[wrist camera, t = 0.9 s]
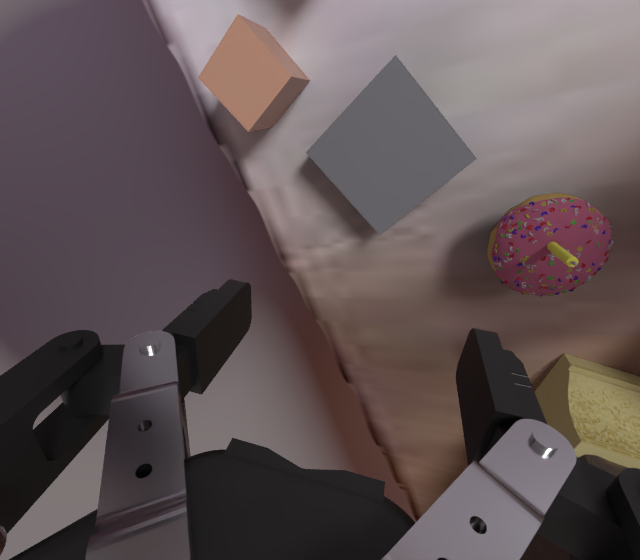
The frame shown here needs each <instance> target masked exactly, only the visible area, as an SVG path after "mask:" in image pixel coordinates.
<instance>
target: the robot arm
mask: <svg viewBox="0 0 640 560" xmlns="http://www.w3.org/2000/svg"><path fill="white" fill-rule="evenodd" d="M251 318H252V314H251V286H250V284H249V283H247V282H242V281H237V280H232V279H230V280H228V281H227V282H225V284H223V285H222V286H221V287H220V288H219V289H218V290H217V289H213V290H211V291H208V292H206V293H204V294H202V295H201V296H200V297H198V298H197V299H196V300H195V301H194V302H193V304H191V305H190V306H189V307H187V309H186V310H184V311H183V312H182V313H181V314H180V315H179V316H178V317H176V318H175V319H174V320H173V321H172V322H171V323H170V324H169V325H168V326H166V327H165V328H164V329H163V330H162V331H149V332H145V333H142V334H139V335H137V336H135V337H133V338H132V339H130V340H129V341H128V342H127V343H126V345H101V343H100V339H99V336H98V335H97V334H96V333H95V332H93V331H89V330H77V331H72V332H67V333H64V334H62V335H59V336H57V337H55V338H54V339H52V340H50V341H49V342H48V343H46V344H45V345H43V346H42V347H41V348H39V349H38V350H36V351H35V352H33V353H32V354H31V355H29V356H28V357H26V358H25V359H23V360H22V361H21V362H19V363H18V364H17V365H15V366H14V367H12V368H11V369H9V370H8V371H7V372H5V373H4V374H2V375H1V376H0V555H1V553H2V552H3V549H4V547H5V543H6V537H7V533H8V532H9V531H10V530H11V529H12V528H13V527H14V525H15V524H16V523H17V522H18V521H19V520H20V519H21V518H22V516H23V515H24V514H25V513H26V512H27V511H28V510H29V508H30V507H31V506H32V505H33V504H34V503H35V502H36V500H37V499H38V498H39V497H40V496H41V495H42V494H43V493H44V492H45V490H46V489H47V488H48V487H49V486H50V485H51V483H52V482H53V481H54V480H55V479H56V478H57V477H58V476H59V474H60V473H61V472H62V471H63V470H64V469H65V468H66V466H68V464H69V463H70V462H71V461H72V460H73V459H74V458H75V456H76V455H77V454H78V453H79V452H80V451H81V450H82V448H83V447H84V446H85V445H86V444H87V443H88V442H89V441H90V439H91V438H92V437H93V436H94V435H95V434H96V433H97V432H98V430H99V429H100V428H101V427H102V426H103V425H104V423H105V422H106V421H107V420H108V419H109V423H108V431H107V439H106V447H105V455H104V463H103V471H102V479H101V487H100V495H99V503H98V509H97V510H95V511H93V512H91V513H90V514H88V515H87V516H85V517H83V518H81V519H79V520H77V521H76V522H74V523H72V524H71V525H69V526H67V527H65V528H64V529H62V530H60V531H58V532H56V533H55V534H53V535H51V536H50V537H48V538H46V539H44V540H42V541H41V542H39V543H37V544H35V545H34V546H32V547H30V548H29V549H27V550H25V551H23V552H21V553H20V554H18V555H16V556H14V557H13V558H11V559H9V560H520V558H521V557H522V555H523V553H524V552H525V550H526V548H527V547H528V545H529V543H530V542H531V540H532V538H533V537H534V535H535V534H536V533H537V534H539V535H540V536H542V537H544V538H545V539H547V540H549V541H550V542H552V543H554V544H555V545H557V546H559V547H560V548H562V549H564V550H565V551H567V552H568V554H569V558H570V560H640V469H638V468H626V469H624V470H622V471H621V472H620V474H619V475H618V476H617V477H616V476H614V475H612V474H610V473H608V472H606V471H604V470H602V469H600V468H597V467H595V466H593V465H591V464H589V463H587V462H585V461H583V460H581V459H580V458H578V457H577V456H576V453H575V451H574V449H573V447H572V445H571V444H570V443H569V441H568V440H567V439H566V438H565V437H564V436H563V435H562V434H561V433H559V432H558V431H557V430H555V429H554V428H552V427H551V426H549V425H548V424H547V422H546V419H545V417H544V414H543V412H542V409H541V407H540V405H539V402H538V400H537V397H536V395H535V392H534V390H533V389H532V385H531V383H530V380H529V378H527V377H528V375H527V373H526V370H525V368H524V365H523V363H522V362H521V361H520V360H519V359H518V358H517V357H516V356H515V355H514V353H513V352H512V351H508V350H503V348H502V345H501V343H500V340H499V337H498V334H497V333H494V332H489V331H484V330H479V329H474V328H472V329H471V330H470V332H469V335H468V337H467V340H466V343H465V346H464V348H463V351H462V354H461V357H460V359H459V362H458V366H457V371H456V384H457V391H458V397H459V404H460V411H461V418H462V425H463V432H464V439H465V446H466V453H467V460H468V467H467V468H466V469H465V470H464V472H463V473H462V474H461V475H460V476H459V477H458V478H457V479H456V480H455V481H454V482H453V483H452V484H451V486H450V487H449V488H448V489H447V490H446V491H445V492H444V493H443V494H442V495H441V496H440V497H439V498H438V499H437V501H436V502H435V503H434V504H433V505H432V506H431V507H430V508H429V509H428V510H427V511H426V512H425V513H424V515H423V516H422V517H421V518H420V519H419V520H418V521H417V522H416V523H415V522H414V521H413V520H412V518H411V517H410V516H409V515H408V514H407V513H406V512H405V511H404V510H403V509H401V508H400V507H399V506H398V505H396V504H395V503H394V502H393V501H391V500H390V499H388V498H386V497H385V496H384V484H385V482H383V481H380V480H376V479H373V478H369V477H366V476H362V475H359V474H356V473H352V472H349V471H344V470H315V469H312V470H311V469H302V468H300V467H298V466H297V465H295V464H293V463H292V462H290V461H288V460H287V459H285V458H283V457H281V456H280V455H278V454H276V453H275V452H273V451H272V450H270V449H268V448H265V447H262V446H258V445H255V444H252V443H248V442H245V441H241V440H238V439H235V438H232V440H231V442H230V444H229V446H228V447H227V449H226V450H214V451H208V452H204V453H200V454H197V455H194V456H190V448H189V438H188V430H187V419H186V409H185V401H184V397H185V396H186V395H187V394H188V392H189V391H191V392H195V393H199V394H202V393H203V392H204V391H205V389H206V388H207V387H208V385H209V384H210V382H211V381H212V380H213V378H214V377H215V376H216V374H217V373H218V372H219V370H220V369H221V367H222V366H223V365H224V363H225V362H226V361H227V359H228V358H229V357H230V355H231V354H232V352H233V351H234V350H235V348H236V347H237V346H238V344H239V343H240V341H241V340H242V339H243V337H244V336H245V334H246V333H247V332H248V330H249V327H250V324H251ZM60 395H61V398H62V400H63V403H62V404H61V405H59V407H57V408H56V409H55V410H54V411H53V412H52V413H51V414H50V415H49V416H48V417H46V418H45V419H44V420H43V421H42V422H41V423H40V424H39V425H38V426H37V427H36V428H35V429H33V424H34V422H35V420H36V418H37V416H38V415H39V414H40V413H41V412H42V411H43V410H44V409H45V408H46V407H47V406H49V405H50V404H51V403H52V402H53V401H54V400H55V399H56V398H57V397H59V396H60Z"/></svg>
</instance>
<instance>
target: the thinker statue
mask: <svg viewBox="0 0 640 560" xmlns="http://www.w3.org/2000/svg"><path fill="white" fill-rule="evenodd" d="M535 395H536V397H537V400H538V402H539V405H540V407H541V409H542V412H543V414H544V417H545V419H546V422H547V424H548V425H549V426H551V427H552V428H554V429H555V430H557V431H558V432H559V433H561V434H562V435H563V436H564V437H565V438H566V439H567V440H568V441H569V443H570V444H571V445H572V447H573V449H574V451H575V453H576V456H577V457H578V458H580V459H581V460H583V461H585V462H587V463H589V464H591V465H593V466H595V467H597V468H600V469H602V470H604V471H606V472H608V473H610V474H612V475H614V476H616V477H617V476H618V475H619V474H620V472H621V471H622V470H624V469H626V468H638V469H640V376H636V375H633V374H630V373H627V372H623V371H620V370H617V369H614V368H610V367H607V366H604V365H601V364H597V363H594V362H591V361H588V360H584V359H581V358H578V357H575V356H571V355H568V354H565V353H564V354H563V355H562V356H561V358H560V359H559V360H558V362H557V363H556V364H555V365H554V367H553V368H552V369H551V371H550V372H549V373H548V375H547V376H546V377H545V379H544V380H543V381H542V383H541V384H540V385H539V386H538V388H537V389H536V390H535ZM520 560H570V558H569V554H568V552H567V551H565V550H564V549H562V548H560V547H559V546H557V545H555V544H554V543H552V542H550V541H549V540H547V539H545V538H544V537H542V536H540V535H539V534H537V533H536V534H535V535H534V537H533V538H532V540H531V542H530V543H529V545H528V547H527V548H526V550H525V552H524V553H523V555H522V557H521V558H520Z"/></svg>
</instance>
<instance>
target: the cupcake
mask: <svg viewBox="0 0 640 560" xmlns="http://www.w3.org/2000/svg"><path fill="white" fill-rule="evenodd" d="M611 228H613V227H612V226H610V223H609V220H608V219H607V218H606V217H605V216H603V215H602V214H601V213H600V212H599V211H598V210H597V209H595V208H594V207H593V206H592V205H590V204H589V202H586V201H584V200H582V199H580V198H577V197H575V196H571V195H567V194H561V193H552V194H545V195H536V196H533V197H530V198H528V199H527V200H525V201H524V202H522V203H521V204H519V205H517V206H515V207H513V208H511V209H510V210H508V211H507V212H506V214H505V215H504V216H503V217H502V219H501V220H500V221H499V222H498V224H497V225H496V226H495V228H494V229H493V230H492V232H491V234H490V237H489V243H488V248H487V257H488V260H489V262H490V264H491V266H492V268H493V270H494V273H495V275H496V276H497V277H498V278H499V280H500V281H501V283H504V284H506V285H507V286H509V287H510V288H512V289H513V290H515V291H517V292H520V293H522V294H531V295H541V296H542V295H548V296H550V295H554V294H559V293H561V292H566V291H568V290H569V291H573V289H575V287H577V286H579V285H581V284H583V283H584V282H587V281H589V280H590V279H591V277H592V276H594V275H595V274H596V273H597V272H598V271H599V270H600V269H601V267H602V266H603V265H604V264H605V263H606V262H607V260H608V257H609V253H610V252H611V251H612V250H611V251H610V247H611V245H612V244H613V241H611ZM611 242H612V244H611Z"/></svg>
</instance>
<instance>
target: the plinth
mask: <svg viewBox="0 0 640 560" xmlns="http://www.w3.org/2000/svg"><path fill="white" fill-rule="evenodd" d="M306 153H307V155H308V156H309V157H310V158H311V159H312V160H313V161H314V162H315V164H316V165H317V166H318V167H319V168H320V169H321V170H322V171H323V172H324V174H325V175H326V176H327V177H328V178H329V179H330V180H331V181H332V183H333V184H334V185H335V186H336V187H337V188H338V189H339V190H340V191H341V193H342V194H343V195H344V196H345V197H346V198H347V199H348V200H349V202H350V203H351V204H352V205H353V206H354V207H355V208H356V209H357V210H358V212H359V213H360V214H361V215H362V216H363V217H364V218H365V219H366V221H367V222H368V223H369V224H370V225H371V226H372V227H373V228H374V229H375V231H376V232H377V233H378V234H379V235H380V234H382V233H383V232H384V231H385V230H387V229H388V228H389V227H391V226H392V225H393V224H394V223H396V222H397V221H398V220H399V219H401V218H402V217H403V216H404V215H406V214H407V213H408V212H410V211H411V210H412V209H413V208H415V207H416V206H417V205H418V204H420V203H421V202H422V201H424V200H425V199H426V198H427V197H429V196H430V195H431V194H432V193H434V192H435V191H436V190H437V189H439V188H440V187H441V186H443V185H444V184H445V183H446V182H448V181H449V180H450V179H451V178H453V177H454V176H455V175H456V174H458V173H459V172H460V171H462V170H463V169H464V168H465V167H467V166H468V165H469V164H470V163H472V162H473V161H474V160H475V159H476V157H475V156H474V155H473V154H472V152H471V151H470V150H469V148H468V147H467V146H466V145H465V143H464V142H463V141H462V139H461V138H460V137H459V136H458V134H457V133H456V132H455V130H454V129H453V128H452V127H451V125H450V124H449V123H448V121H447V120H446V119H445V118H444V116H443V115H442V114H441V113H440V111H439V110H438V109H437V107H436V106H435V105H434V104H433V102H432V101H431V100H430V98H429V97H428V96H427V95H426V93H425V92H424V91H423V89H422V88H421V87H420V86H419V84H418V83H417V82H416V80H415V79H414V78H413V77H412V75H411V74H410V73H409V72H408V70H407V69H406V68H405V66H404V65H403V64H402V63H401V61H400V60H399V59H398V57H397V56H396V55H395V56H394V57H393V58H392V60H391V61H390V62H389V63H388V64H387V65H386V66H385V67H384V68H383V69H382V70H381V72H380V73H379V74H378V75H377V76H376V77H375V78H374V79H373V80H372V81H371V82H370V83H369V85H368V86H367V87H366V88H365V89H364V90H363V91H362V92H361V93H360V94H359V95H358V96H357V98H356V99H355V100H354V101H353V102H352V103H351V104H350V105H349V106H348V107H347V108H346V109H345V111H344V112H343V113H342V114H341V115H340V116H339V117H338V118H337V119H336V120H335V121H334V122H333V124H332V125H331V126H330V127H329V128H328V129H327V130H326V131H325V132H324V133H323V134H322V136H321V137H320V138H319V139H318V140H317V141H316V142H315V143H314V144H313V145H312V146H311V147H310V149H309V150H308V151H307V152H306Z"/></svg>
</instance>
